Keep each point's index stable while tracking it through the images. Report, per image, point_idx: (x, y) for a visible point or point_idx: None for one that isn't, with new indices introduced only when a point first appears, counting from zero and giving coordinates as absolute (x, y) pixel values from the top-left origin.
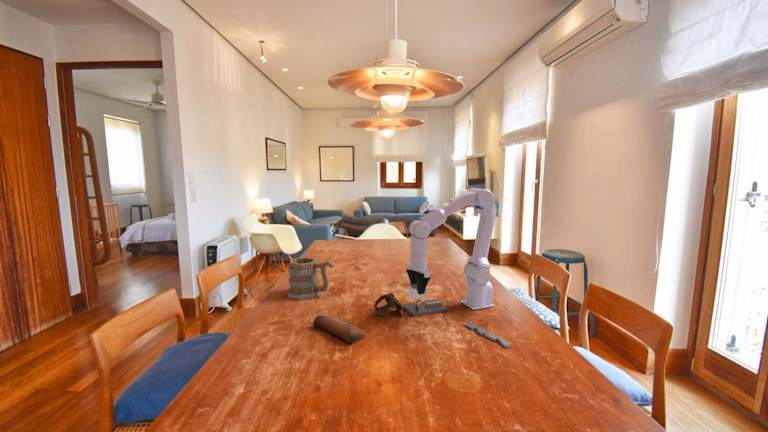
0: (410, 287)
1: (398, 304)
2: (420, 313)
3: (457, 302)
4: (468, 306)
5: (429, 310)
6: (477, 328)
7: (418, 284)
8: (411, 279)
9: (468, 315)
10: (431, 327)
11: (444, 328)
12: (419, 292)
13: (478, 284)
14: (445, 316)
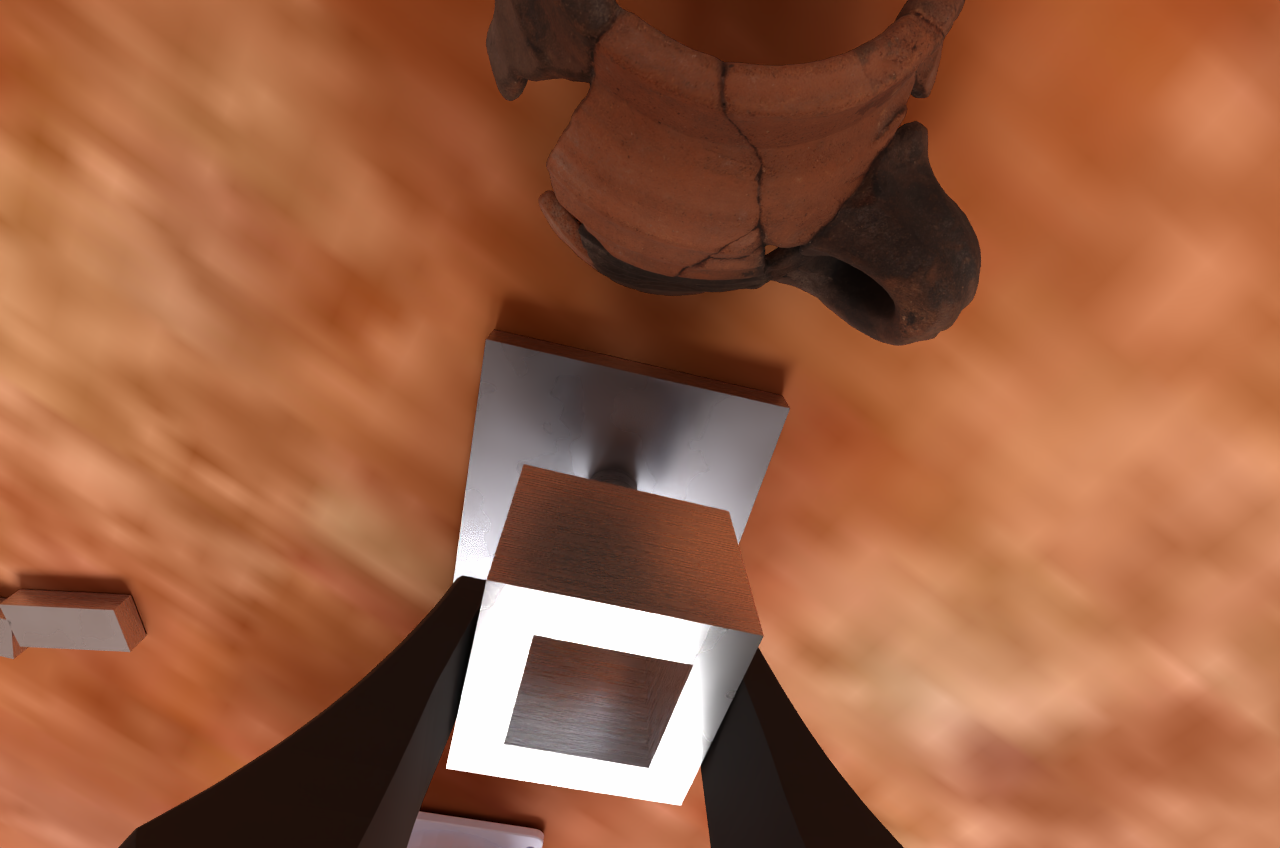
0: (660, 596)
1: (557, 182)
2: (476, 427)
3: (556, 809)
4: (431, 815)
5: (479, 538)
6: None
7: (344, 705)
8: (767, 775)
9: (301, 725)
10: (177, 330)
11: (121, 422)
12: (445, 599)
13: None
14: (358, 587)
